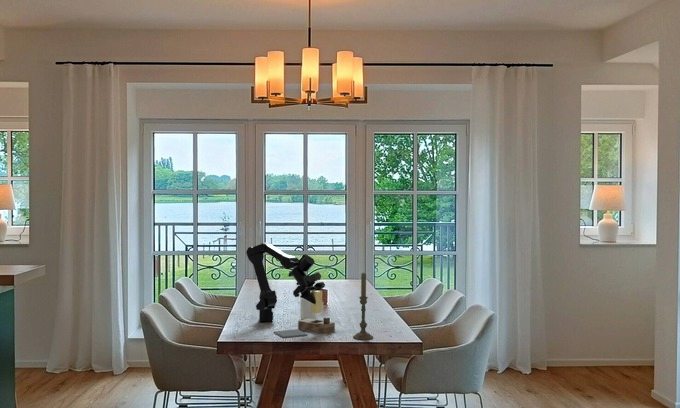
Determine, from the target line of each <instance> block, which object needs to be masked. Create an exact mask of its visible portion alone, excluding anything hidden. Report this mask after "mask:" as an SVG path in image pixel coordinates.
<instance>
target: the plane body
mask: <svg viewBox="0 0 680 408" xmlns="http://www.w3.org/2000/svg"><path fill="white" fill-rule="evenodd" d="M297 323H298V324H297V329H298V330H300V331H306V332H307V331H308V332H313V333H317V334H318V333H319V334H324V335H325V334H329V333H332V332H334V331H336V328H335V326H336V325H335V324H336V322H334V321H331V318H330V317H326V316H325V317H323V320H322V319H310V318H308V319H304V320H302V319H300V320H298V321H297Z"/></svg>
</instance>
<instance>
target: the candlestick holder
mask: <svg viewBox="0 0 680 408" xmlns="http://www.w3.org/2000/svg"><path fill="white" fill-rule="evenodd" d="M360 275H361V277H360V279H361V282H360V284H361V285H360V286H361V287H360V291H361V292H360V296H359V303H360V305H361V309H360V311H361V321H360V322H359V324H358V325H359V327H360V330H359V332H357V333H355V334H354V335H353V337H352V338H353V339H354V340H357V341H359V340H360V341H369V340H373V339H374V336H373V335H371V334H370V333H369V332H367V331H366V328H367V325H368V323H367V322H366V319H365V318H366V310H367V309H366V304H367V303H368V296H367V273H365V272H361V274H360Z"/></svg>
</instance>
